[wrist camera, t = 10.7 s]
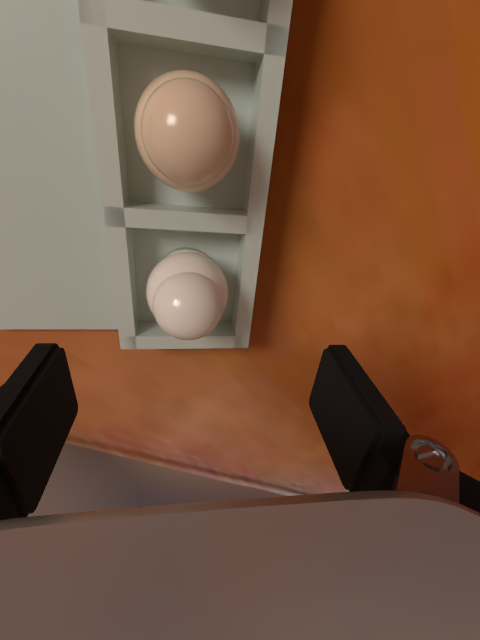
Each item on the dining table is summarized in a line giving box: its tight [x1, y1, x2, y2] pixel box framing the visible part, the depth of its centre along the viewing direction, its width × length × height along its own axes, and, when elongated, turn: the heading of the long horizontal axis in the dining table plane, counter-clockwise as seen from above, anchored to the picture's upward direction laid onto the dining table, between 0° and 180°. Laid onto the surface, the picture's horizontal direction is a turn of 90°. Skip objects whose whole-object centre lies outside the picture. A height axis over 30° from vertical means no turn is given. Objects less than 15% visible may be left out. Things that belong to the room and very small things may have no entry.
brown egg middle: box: [134, 70, 240, 192], centre depth 14 cm, size 5×5×6 cm
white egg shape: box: [146, 247, 228, 340], centre depth 18 cm, size 5×5×6 cm
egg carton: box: [0, 0, 293, 349], centre depth 15 cm, size 25×17×3 cm
